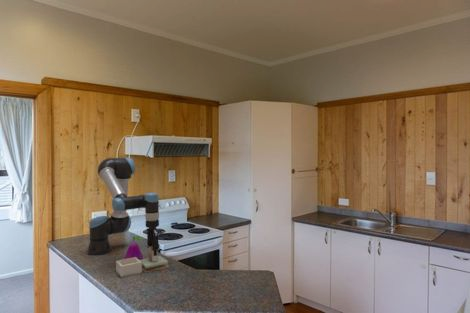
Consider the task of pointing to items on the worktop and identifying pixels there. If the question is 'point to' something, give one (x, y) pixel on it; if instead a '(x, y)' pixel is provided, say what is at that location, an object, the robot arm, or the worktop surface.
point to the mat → (154, 268)
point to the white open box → (128, 267)
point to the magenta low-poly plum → (134, 250)
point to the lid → (149, 263)
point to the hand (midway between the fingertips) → (153, 259)
